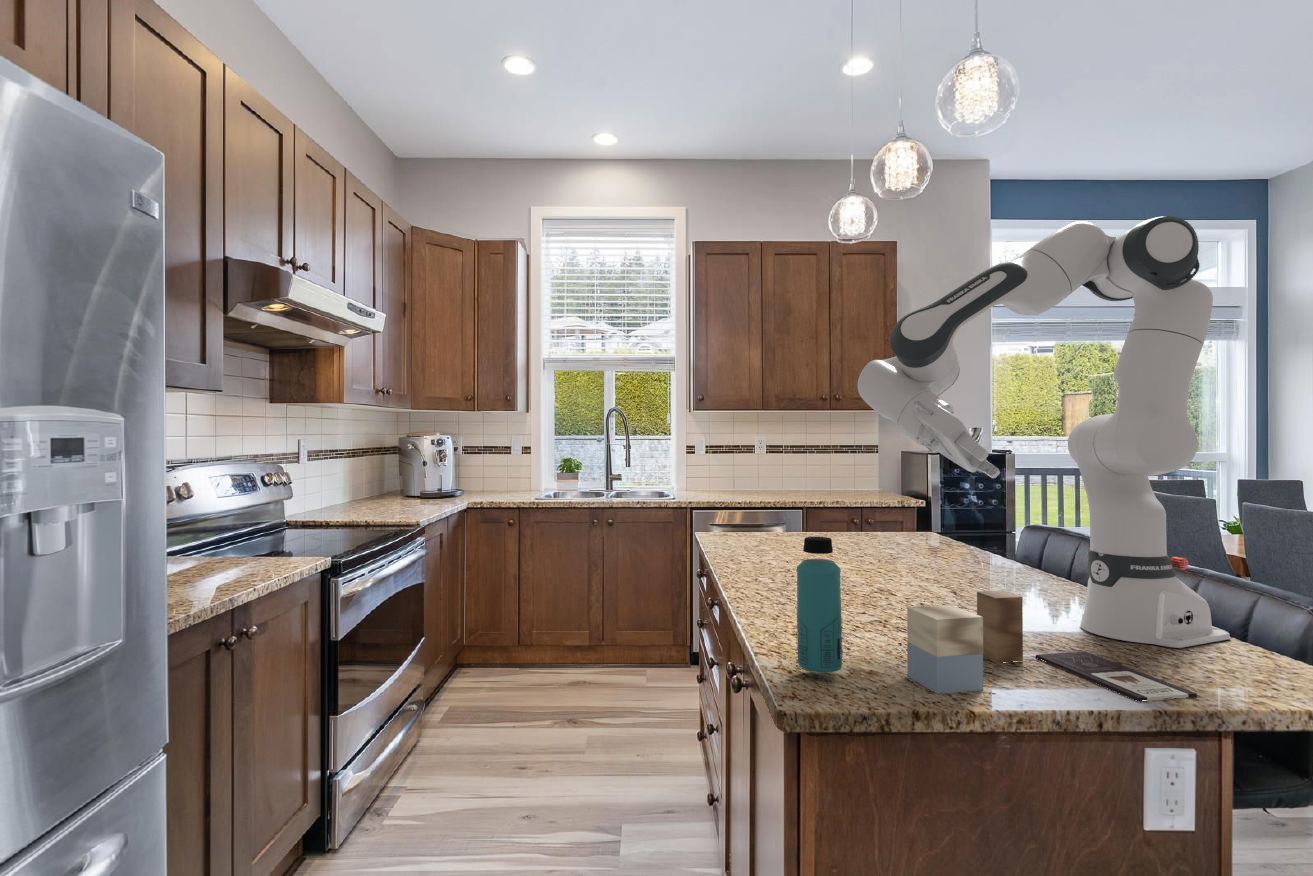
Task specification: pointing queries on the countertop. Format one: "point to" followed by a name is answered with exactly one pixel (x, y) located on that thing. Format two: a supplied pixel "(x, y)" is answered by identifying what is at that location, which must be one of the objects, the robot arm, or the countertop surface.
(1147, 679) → the chocolate bar
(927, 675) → the tower base
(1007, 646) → the pillar
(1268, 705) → the countertop surface
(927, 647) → the tower top
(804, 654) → the beverage bottle
